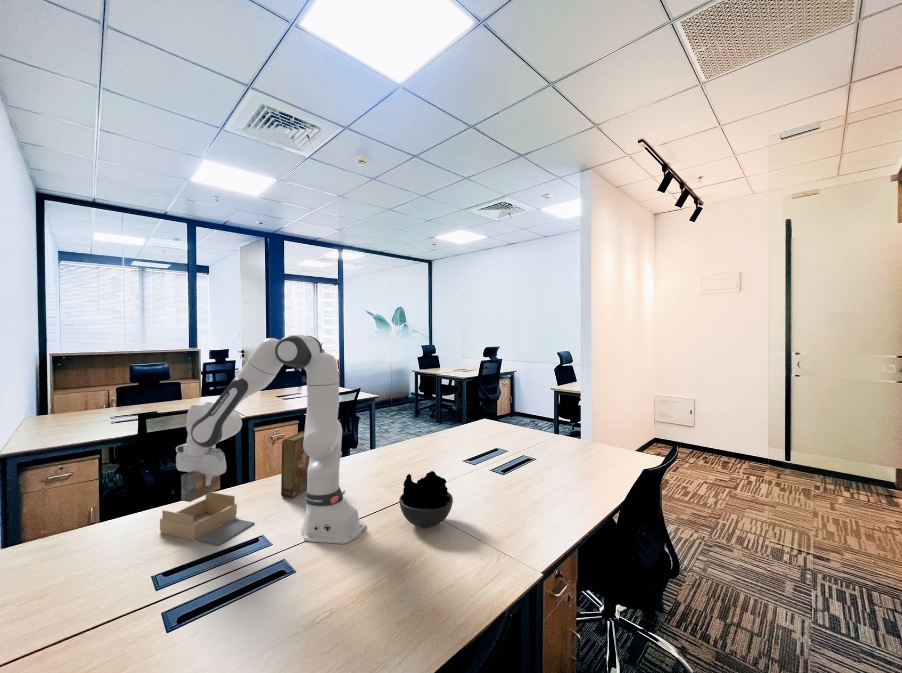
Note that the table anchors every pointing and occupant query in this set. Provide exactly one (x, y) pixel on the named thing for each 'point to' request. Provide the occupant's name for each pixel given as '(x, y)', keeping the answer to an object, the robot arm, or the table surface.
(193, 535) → the carton
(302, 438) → the book
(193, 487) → the capped box
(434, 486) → the coal bowl
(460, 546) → the table surface
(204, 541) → the mat
